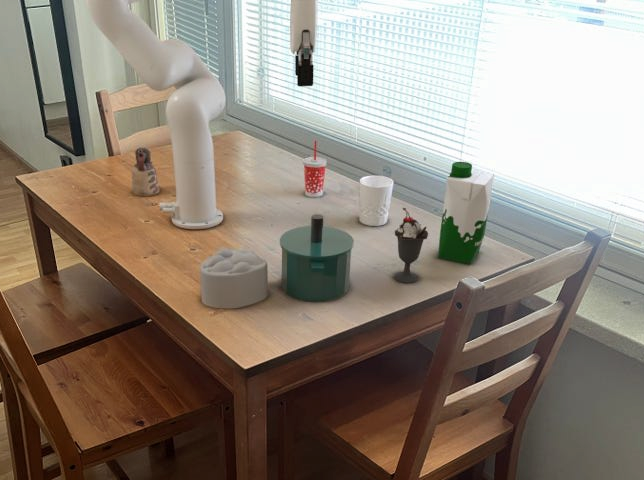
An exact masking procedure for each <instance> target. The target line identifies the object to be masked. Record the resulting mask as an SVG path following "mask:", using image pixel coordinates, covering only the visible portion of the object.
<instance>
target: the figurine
mask: <svg viewBox="0 0 644 480" xmlns="http://www.w3.org/2000/svg"><path fill="white" fill-rule="evenodd" d="M134 154H135V160H136V163H135V164H133V166H132V170H131V189H132V193H133V194H134V195H135V196H138V197H151V196H155V195H157V194H159V193H160V184H159V180H158V174H157V170H156V167H155V166H154V165H153V161H151V151H150V150H149V149H148V148H147V147H144V146H143V147H142V146H140V147H138V148H137V149H136V150H135V151H134Z"/></svg>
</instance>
